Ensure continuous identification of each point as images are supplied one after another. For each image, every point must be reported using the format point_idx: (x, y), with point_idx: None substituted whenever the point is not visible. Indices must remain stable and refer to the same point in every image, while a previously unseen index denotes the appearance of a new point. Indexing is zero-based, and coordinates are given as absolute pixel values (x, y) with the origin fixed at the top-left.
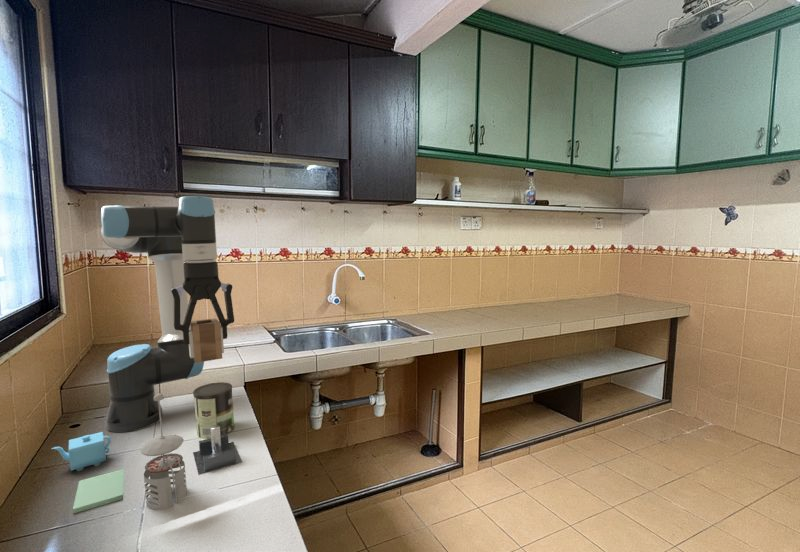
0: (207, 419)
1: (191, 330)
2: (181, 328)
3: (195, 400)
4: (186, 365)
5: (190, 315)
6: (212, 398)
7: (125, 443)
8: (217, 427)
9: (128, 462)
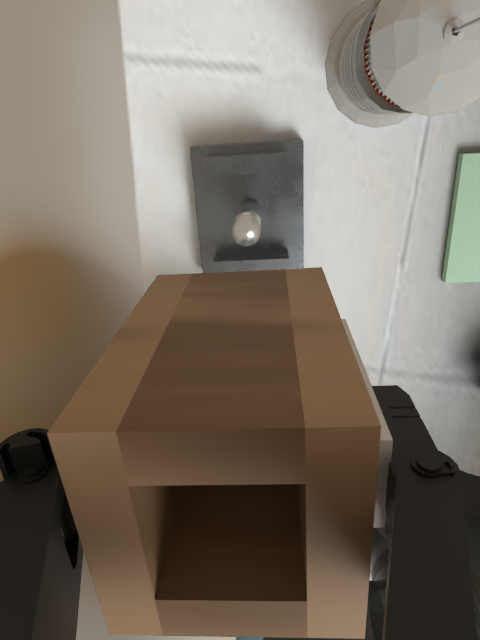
0: None
1: None
2: (476, 491)
3: None
4: None
5: (420, 628)
6: None
7: (433, 417)
8: (239, 227)
9: (439, 324)
